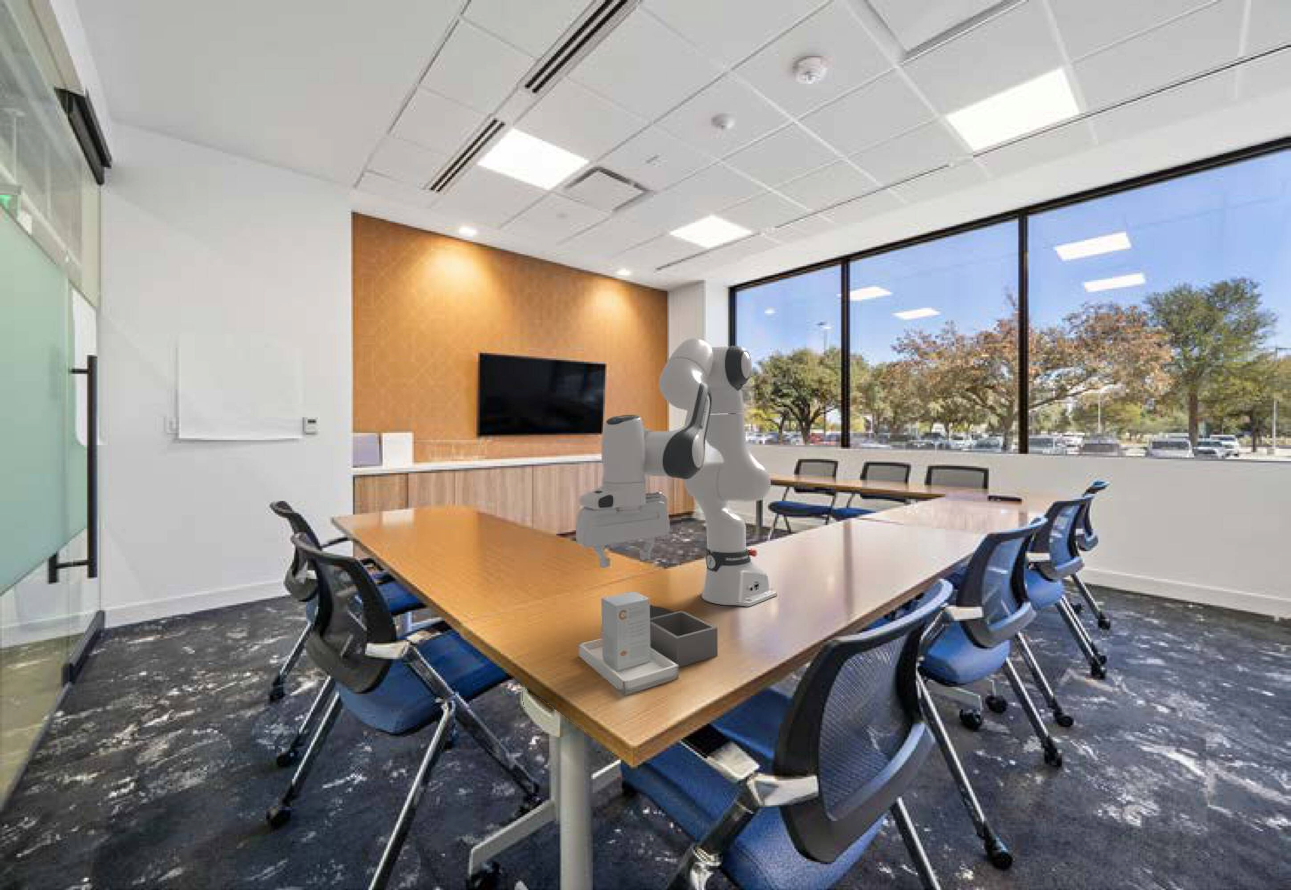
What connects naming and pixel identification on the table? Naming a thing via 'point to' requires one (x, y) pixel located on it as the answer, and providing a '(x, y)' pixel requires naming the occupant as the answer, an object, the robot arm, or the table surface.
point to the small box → (625, 630)
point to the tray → (630, 669)
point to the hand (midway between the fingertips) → (625, 563)
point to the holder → (683, 638)
